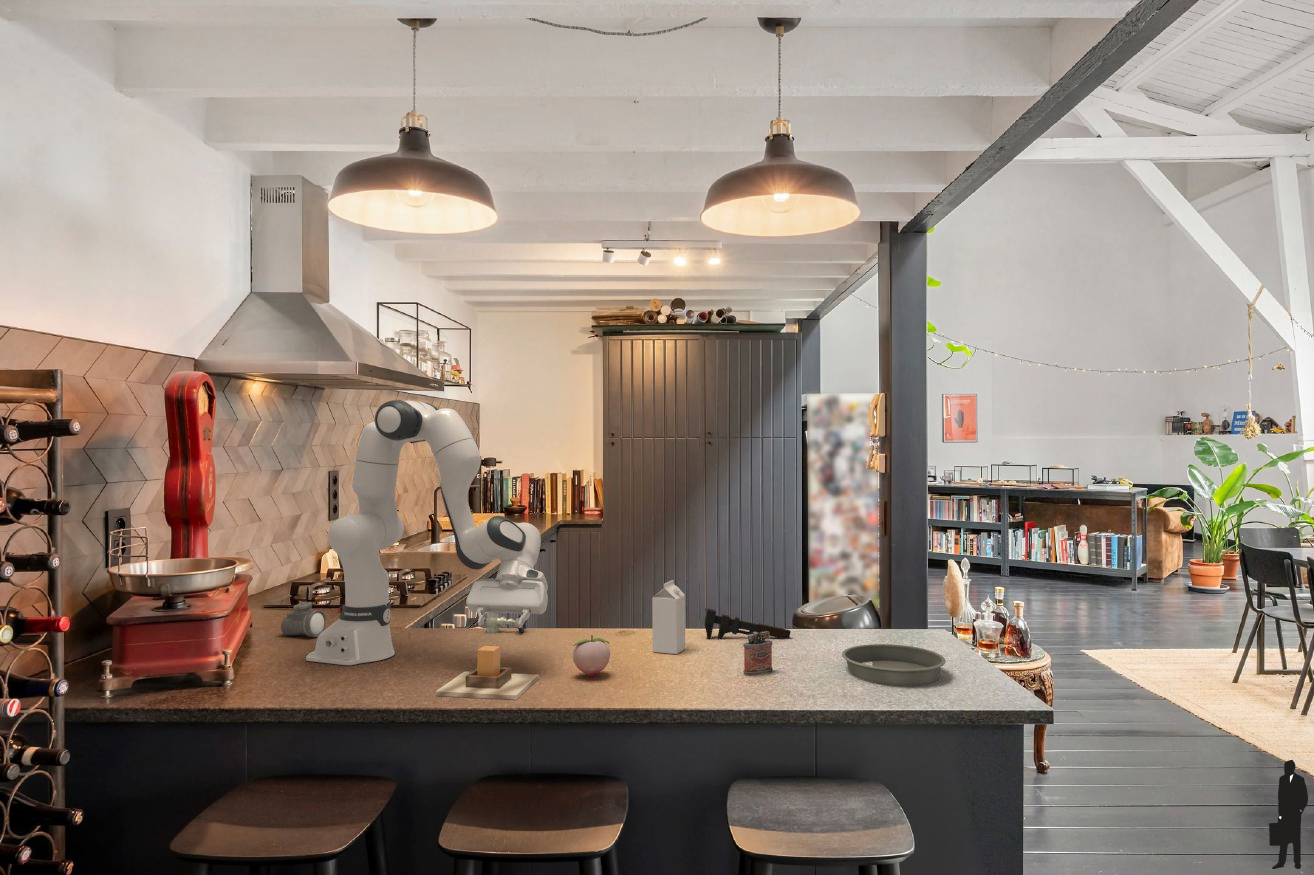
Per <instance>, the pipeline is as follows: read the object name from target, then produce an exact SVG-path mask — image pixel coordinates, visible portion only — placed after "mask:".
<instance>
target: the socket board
mask: <svg viewBox="0 0 1314 875" xmlns="http://www.w3.org/2000/svg"><path fill="white" fill-rule="evenodd" d="M539 676H540V675H539V674H529V673H528V674H527V673H512V667H501V666H500V675H498V676H497V677H496V676H477V668H475V669H473V670H472V671H463V672H462V673H461V674H459V675H457V676H456V677H454V678H453V679H451V680H450V681H448V682H447V683H446V684H444V685H443V686H441V687H440V688H438V689H437V690H436V691H435V697H451V698H453V697H454V698H455V697H456V698H471V699H472V698H475V699H491V700H492V699H493V700H494V699H495V700H511V701H512V700H514V701H515V700H516V701H517V699H518V698H520V697H521V696H522V695H523V694H524V693H525V692H526V691H527V690H528V689H529V688H530V687H532V686H533V684H535V683H536V682H537V681H538V680H539V679H540V677H539Z"/></svg>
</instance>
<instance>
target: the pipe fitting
mask: <svg viewBox="0 0 1314 875" xmlns="http://www.w3.org/2000/svg"><path fill="white" fill-rule="evenodd" d="M312 603H313V602H311V601H306V602H301V603H297V604H296V605H293V610H292V611H289V612H287V614H286V616H285V617H284V618H283V619H282V620H281V623H280V631H281V633H282V634H283V635H284V636H287V637H290V636H302V635H304V636H305V635H306V636H307V637H309V638H318V636H319V635H320V634H321V633H322V632H323V631H324V630H326V629H327V628H328V627H327V626H328V620H327V616H326V613H325V612H324V611H323V610H321V609H315V610H314V609H312V607H313V604H312Z"/></svg>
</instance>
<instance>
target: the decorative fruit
mask: <svg viewBox="0 0 1314 875" xmlns="http://www.w3.org/2000/svg"><path fill="white" fill-rule="evenodd" d="M593 636H594V635H593V634H591V637H590V638H591V639H586V638H585V639H584V638H583V639H580V640H578V641H576V642H575V643H574V644H573V645H572V646H573V647H574V649H573V651H572V661H573V663H574V665H575V666H576V668H577V669H578V670H579V671H581V672H582V673H583V674H586V675H588V676H590V677H593V676H594V675H597V674H598V673H600V672H602V671H603V670H604V669H605V668H606V667H607V665H608V664H609V661H610V656H611V650H610V648H609V646H608V645H607V644H609V645H610V644H611V643H610V642H609V641H608V640H607V639H605V638H601V637H596V638H594V637H593ZM593 638H594V639H593Z"/></svg>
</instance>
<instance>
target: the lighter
mask: <svg viewBox="0 0 1314 875" xmlns="http://www.w3.org/2000/svg"><path fill="white" fill-rule="evenodd" d="M770 637H771V636H770V634H769V632H768V631H766V632H760V633H758V632H753V634H749V635H747V639H748V642H743V644H742V645H743V649H744V650H743V652H744V653H743V658H744V659H743V660H744V661H743V664H744V665H743V666H744V668H743V669H744V670H743V675H744V676H747V677H753V676H761V675H766V674H767V675H768V674H771V673H773V671H774V670H773V662H772V660H773V654H772V653H773V648H772V647H773V641H772V640H770V639H766V638H770Z"/></svg>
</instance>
